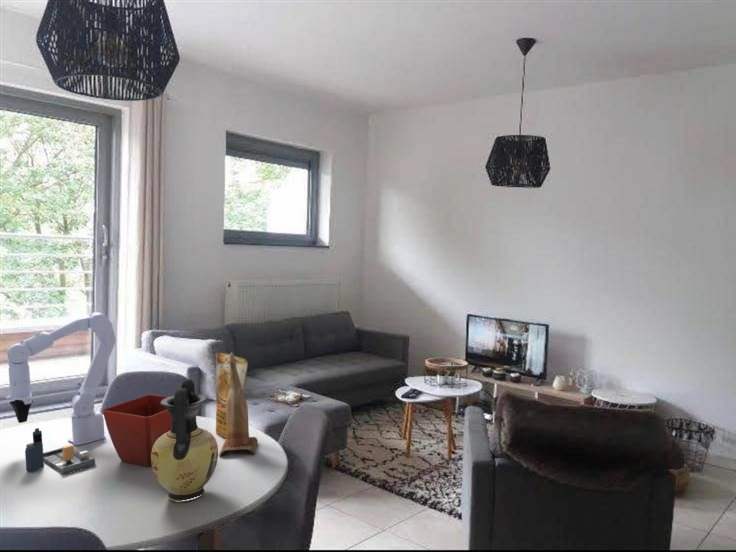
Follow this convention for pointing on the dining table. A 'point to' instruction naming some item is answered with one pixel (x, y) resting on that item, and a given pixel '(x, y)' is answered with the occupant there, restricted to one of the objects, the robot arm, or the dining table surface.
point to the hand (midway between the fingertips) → (22, 421)
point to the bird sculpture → (237, 415)
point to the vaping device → (35, 452)
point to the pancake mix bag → (226, 387)
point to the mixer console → (77, 463)
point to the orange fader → (68, 453)
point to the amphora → (184, 447)
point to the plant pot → (137, 427)
